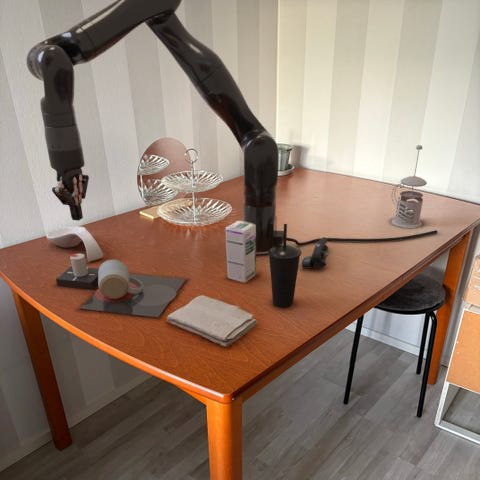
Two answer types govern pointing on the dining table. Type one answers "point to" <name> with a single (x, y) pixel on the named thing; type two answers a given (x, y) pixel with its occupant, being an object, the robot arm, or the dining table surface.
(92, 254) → the spoon rest
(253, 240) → the syrup box
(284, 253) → the drinking cup
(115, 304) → the hob
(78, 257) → the hob knob
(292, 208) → the dining table surface
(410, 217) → the french press
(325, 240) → the can opener
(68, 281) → the control box
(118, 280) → the ceramic mug
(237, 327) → the washcloth
